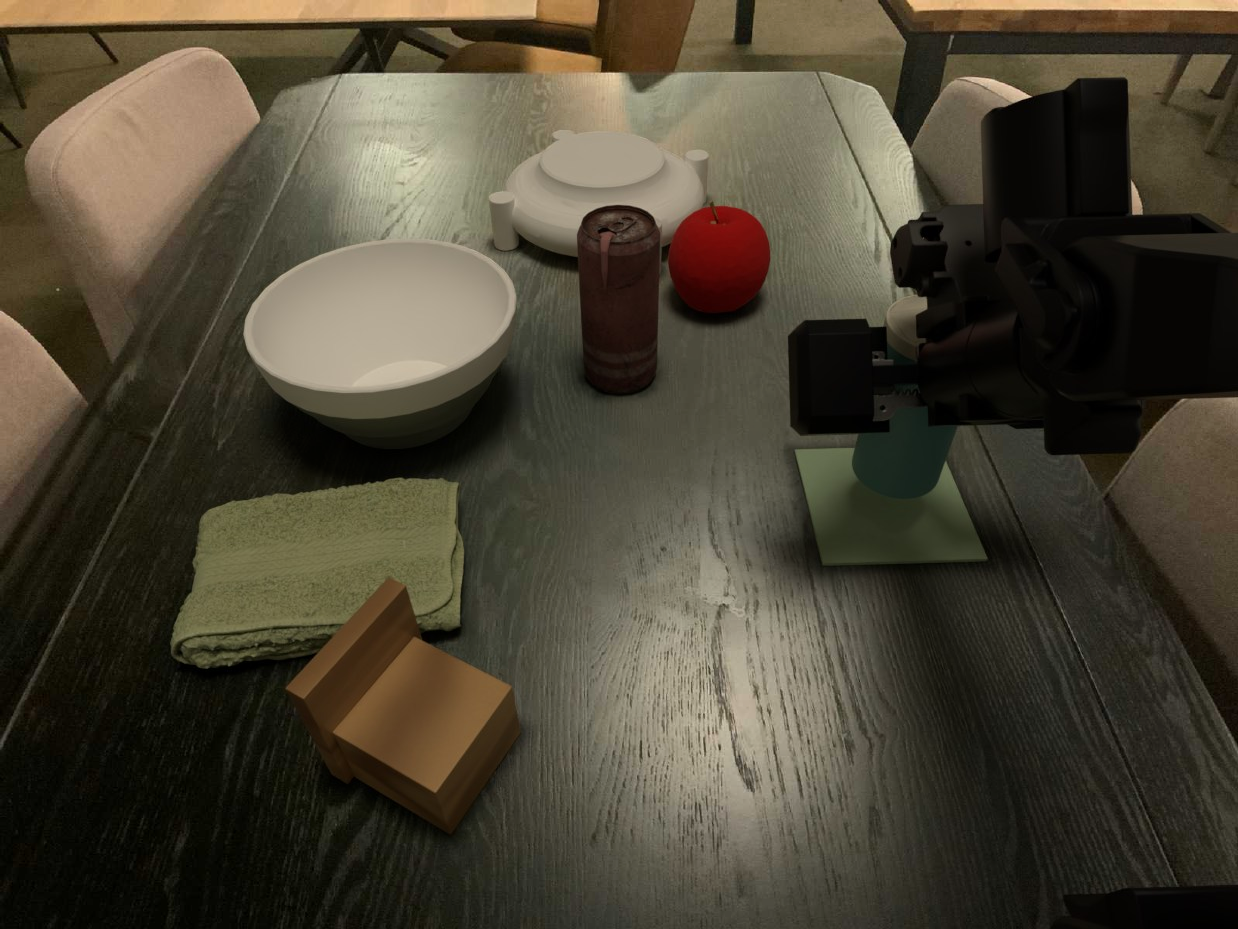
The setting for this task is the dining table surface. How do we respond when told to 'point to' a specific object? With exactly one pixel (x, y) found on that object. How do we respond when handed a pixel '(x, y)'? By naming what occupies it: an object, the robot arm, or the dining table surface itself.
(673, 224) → the round stand with pegs
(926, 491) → the teal cup
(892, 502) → the mat
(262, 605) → the washcloth
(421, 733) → the stepped wooden block
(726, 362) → the dining table surface
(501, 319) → the bowl
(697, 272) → the fruit
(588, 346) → the can
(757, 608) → the dining table surface
